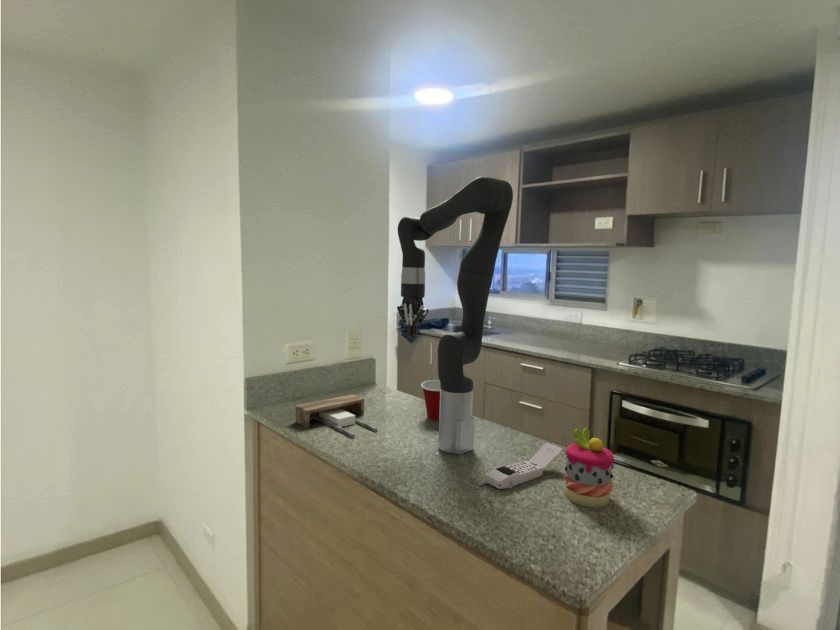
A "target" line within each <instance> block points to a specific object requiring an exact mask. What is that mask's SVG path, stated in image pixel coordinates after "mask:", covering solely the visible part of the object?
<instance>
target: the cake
mask: <svg viewBox="0 0 840 630" xmlns="http://www.w3.org/2000/svg"><path fill="white" fill-rule="evenodd" d="M573 435H574V437H575V438H576V439H574V443H572V444H569V445H567V447H566V449H565V458H566V459H565V460H566V462H565V464H566V465H565V467H564V470H565V474H564V475H562V478H564V480H565V483H564V496H565V498H566V499H568V500H569V501H570V502H572V503H575V504H577V505H579V506H583V507H586V508H587V507H588V508H603V507H605V506H608V505H609V503H610V501H611V500H610V498H611V497H610V496H611V492H612V490H613V489H614V483H613V482H614V481H613V480H612V479H613V478H614V475H613V469H614V463H615V462H614V461H615V460H614V458H615V456H614V454H613V452H612V451H611V450H610V449H608V448H606V447H604V442H603V441H602V440H601V439H600V438H598V437H592V438H590V435H591V432H590V429H589V428H587V427H585V428H583V429H582V431H581V430H580V429H579V428H576V429H574V430H573Z"/></svg>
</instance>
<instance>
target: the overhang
mask: <svg viewBox="0 0 840 630" xmlns="http://www.w3.org/2000/svg"><path fill="white" fill-rule="evenodd" d="M336 407H338V408H340V409H342V410H344V411H347V412H350V410H353V411H352V412H354V411H355V412H354V413H356V412H357V414H358V415H361V416H362V415H365V398H363V397H360V396H358V395H356V394H353V393H352V394H347V395H342V396H337V397H332V398H326V399H321V400H317V401H312V402H311V401H310V402H306V403H300V404H296V405H295V422H296V423H297V424H299V425H300V426H303V427H304V428H306V429H307V428H310V420H317V422H318V421H319V422H320V423H322V424H325V425H326V426H328V427H331V428H332V429H334V430H336V431H338V432H340V433H342V434H344V435H346V436H348V437H350V438H352V439H354V438H355V437H356V435H355V433H353V432H352V431H349V430H348V429H346V428H344V427H339V426H337V425H335V424H333V423H331V422H329V421H327V420H325V419H323V418H321V417H319V411H322V410H327V409H332V408H336ZM355 424H357V425H360V426H361V427H364V428H366V429H368V430H371V431H372V432H376V433H377V432H378V427H375V426H373V425H371V424H369V423H367V422H365V421H363V420H360V419H358V418H356V417H355Z"/></svg>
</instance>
